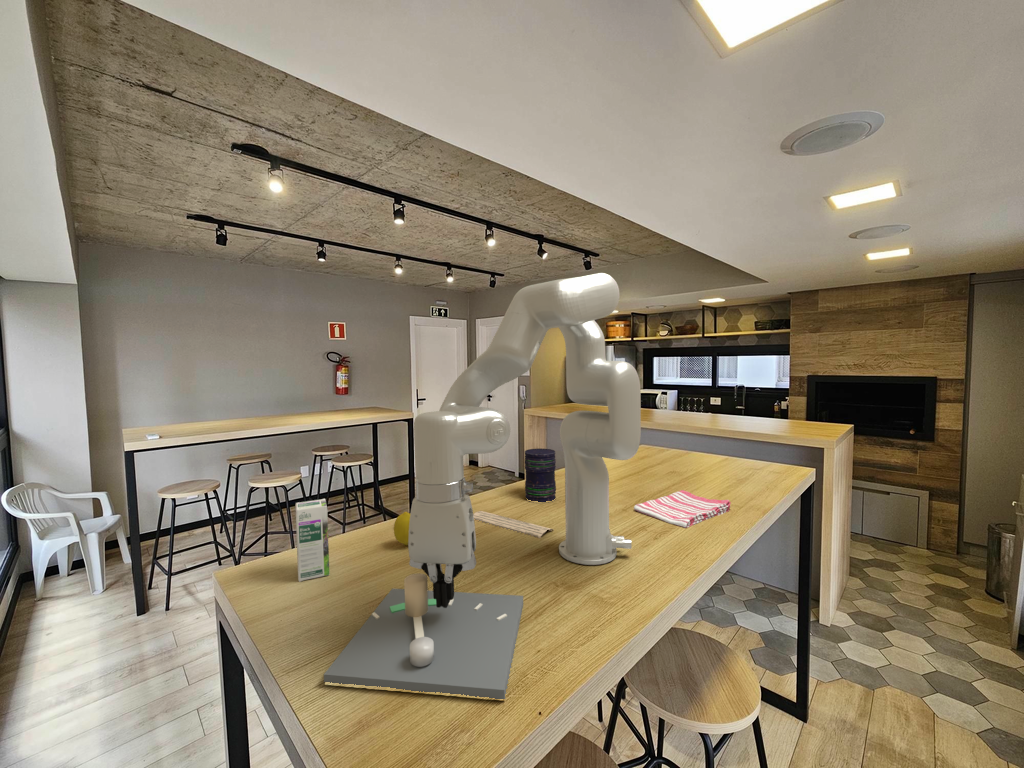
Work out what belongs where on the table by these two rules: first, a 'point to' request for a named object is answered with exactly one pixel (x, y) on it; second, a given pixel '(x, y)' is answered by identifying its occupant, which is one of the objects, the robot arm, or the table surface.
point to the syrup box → (312, 539)
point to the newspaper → (511, 524)
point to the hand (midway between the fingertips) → (444, 602)
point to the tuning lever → (418, 618)
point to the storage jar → (540, 475)
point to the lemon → (402, 528)
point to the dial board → (435, 646)
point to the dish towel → (683, 508)
